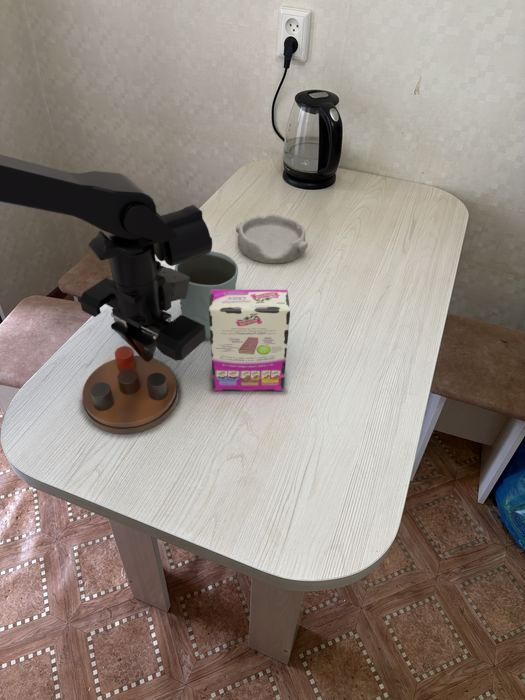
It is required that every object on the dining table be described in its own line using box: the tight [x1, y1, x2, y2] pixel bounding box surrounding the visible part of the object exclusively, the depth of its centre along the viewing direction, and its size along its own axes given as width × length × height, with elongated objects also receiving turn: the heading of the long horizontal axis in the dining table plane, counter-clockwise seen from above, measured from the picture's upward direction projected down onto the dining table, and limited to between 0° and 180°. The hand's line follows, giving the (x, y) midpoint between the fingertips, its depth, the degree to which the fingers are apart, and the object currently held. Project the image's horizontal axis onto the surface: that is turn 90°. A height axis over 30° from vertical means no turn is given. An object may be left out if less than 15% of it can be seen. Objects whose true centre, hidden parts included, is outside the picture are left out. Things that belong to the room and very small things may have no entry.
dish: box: [235, 213, 309, 264], centre depth 107 cm, size 14×14×5 cm
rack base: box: [82, 378, 179, 435], centre depth 76 cm, size 14×14×1 cm
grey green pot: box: [174, 250, 239, 340], centre depth 86 cm, size 10×10×12 cm
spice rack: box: [82, 345, 177, 428], centre depth 74 cm, size 14×14×4 cm
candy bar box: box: [209, 289, 291, 392], centre depth 75 cm, size 11×5×16 cm, turn 92°
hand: (148, 359), depth 76 cm, fingers closed
